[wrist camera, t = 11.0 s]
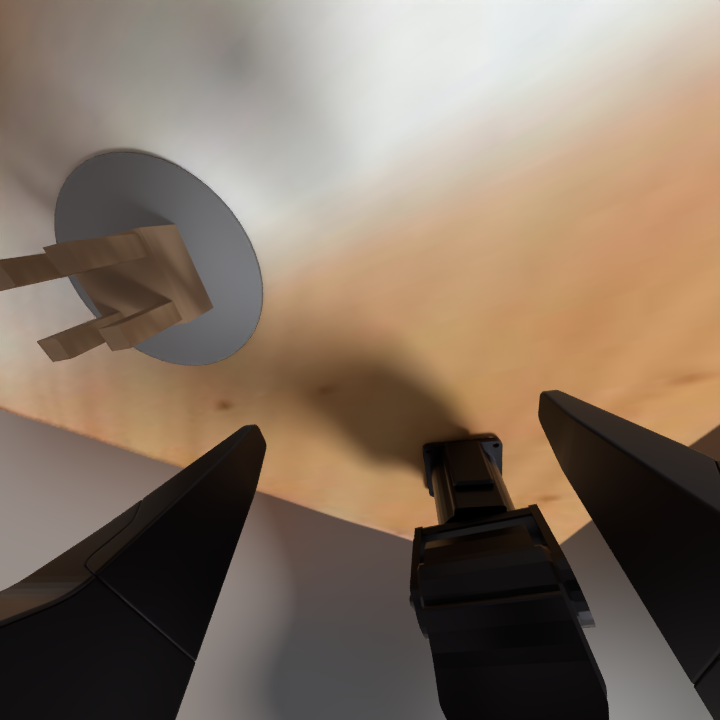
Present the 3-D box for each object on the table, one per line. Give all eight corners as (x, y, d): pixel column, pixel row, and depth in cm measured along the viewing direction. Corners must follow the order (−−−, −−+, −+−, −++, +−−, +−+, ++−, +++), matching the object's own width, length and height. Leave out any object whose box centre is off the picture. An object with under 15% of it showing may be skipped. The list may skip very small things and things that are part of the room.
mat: (289, 349, 22) (288, 351, 22) (136, 373, 24) (132, 376, 24) (208, 122, 16) (204, 120, 15) (13, 186, 18) (6, 186, 18)
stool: (213, 307, 21) (139, 351, 14) (148, 320, 22) (52, 366, 15) (175, 224, 18) (65, 234, 12) (103, 243, 19) (-32, 261, 13)
